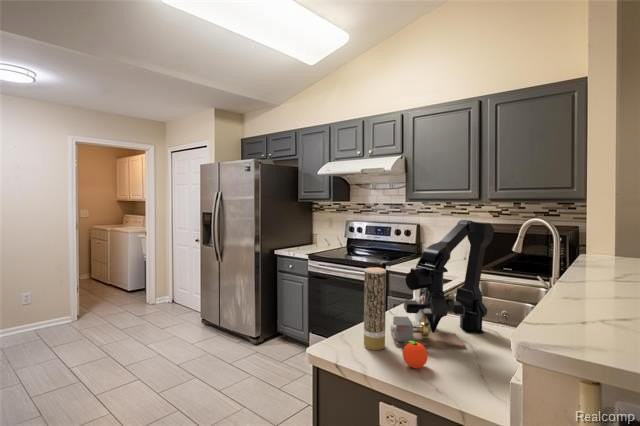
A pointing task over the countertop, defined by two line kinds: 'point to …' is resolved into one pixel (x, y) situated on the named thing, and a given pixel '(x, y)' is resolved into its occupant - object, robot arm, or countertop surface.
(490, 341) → the countertop surface
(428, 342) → the base board
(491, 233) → the robot arm
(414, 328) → the shaft
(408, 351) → the clementine
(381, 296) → the brown patterned cylinder
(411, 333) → the bearing block
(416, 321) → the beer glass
